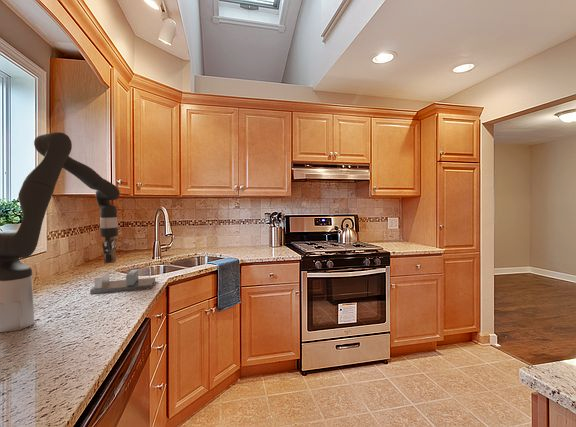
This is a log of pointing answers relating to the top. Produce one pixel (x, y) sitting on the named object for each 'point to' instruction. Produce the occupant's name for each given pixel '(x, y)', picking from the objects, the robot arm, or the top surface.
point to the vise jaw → (131, 277)
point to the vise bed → (118, 284)
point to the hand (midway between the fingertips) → (110, 261)
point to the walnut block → (113, 256)
